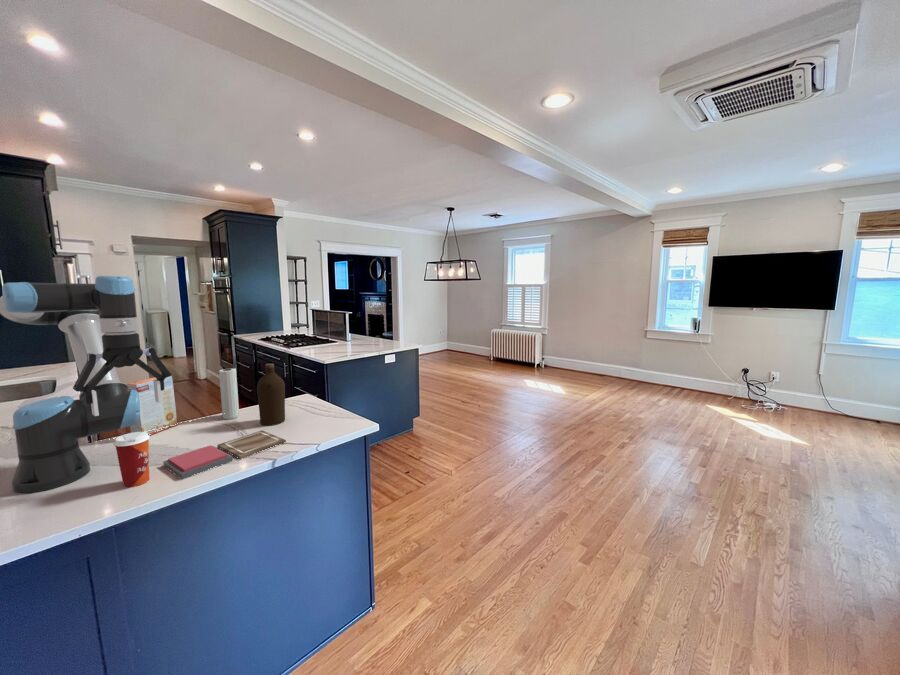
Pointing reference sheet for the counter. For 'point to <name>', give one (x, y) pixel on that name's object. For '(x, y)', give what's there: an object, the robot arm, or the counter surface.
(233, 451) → the marked board
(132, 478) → the paper cup
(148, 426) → the cracker box
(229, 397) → the paper towel roll
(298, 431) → the counter surface
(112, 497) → the counter surface
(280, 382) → the olive oil
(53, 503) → the counter surface
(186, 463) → the ink pad
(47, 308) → the robot arm
